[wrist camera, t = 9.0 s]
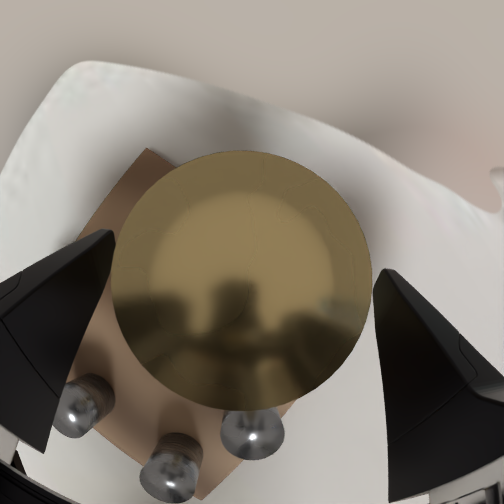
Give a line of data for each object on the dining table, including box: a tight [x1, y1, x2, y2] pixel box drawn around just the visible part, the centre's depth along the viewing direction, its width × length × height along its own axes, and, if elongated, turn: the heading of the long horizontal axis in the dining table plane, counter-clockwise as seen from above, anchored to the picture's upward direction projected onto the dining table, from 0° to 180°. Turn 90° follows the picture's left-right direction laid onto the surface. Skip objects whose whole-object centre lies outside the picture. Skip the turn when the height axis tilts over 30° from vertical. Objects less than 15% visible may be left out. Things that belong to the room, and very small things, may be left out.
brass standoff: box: [111, 151, 372, 411], centre depth 11 cm, size 4×4×12 cm
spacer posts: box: [52, 373, 285, 503], centre depth 14 cm, size 9×16×4 cm, turn 54°
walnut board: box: [66, 148, 296, 500], centre depth 17 cm, size 18×17×1 cm
